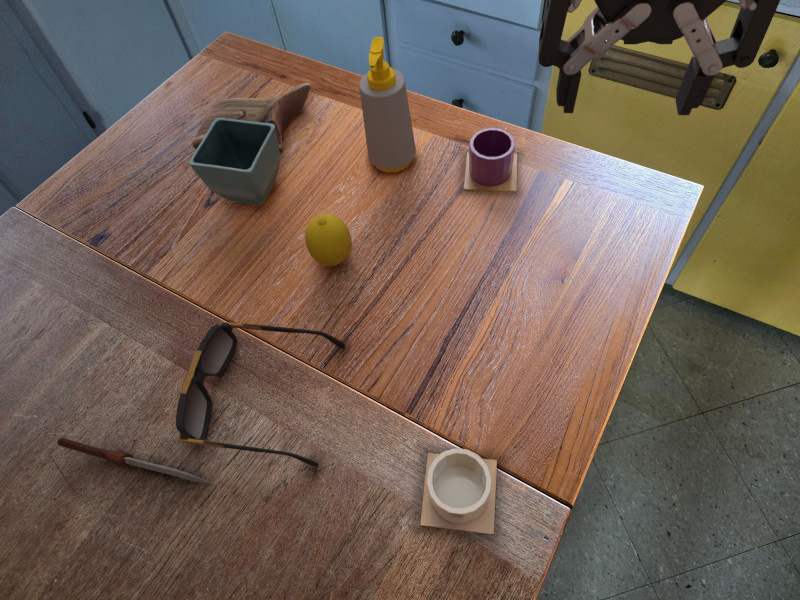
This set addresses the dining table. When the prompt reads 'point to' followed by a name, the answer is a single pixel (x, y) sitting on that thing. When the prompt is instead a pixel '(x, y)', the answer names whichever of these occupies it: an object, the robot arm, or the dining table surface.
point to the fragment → (258, 111)
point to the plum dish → (491, 156)
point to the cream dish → (459, 485)
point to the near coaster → (478, 525)
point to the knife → (126, 459)
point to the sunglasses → (213, 363)
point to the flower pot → (238, 160)
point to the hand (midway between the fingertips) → (624, 107)
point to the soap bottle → (386, 113)
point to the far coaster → (505, 187)
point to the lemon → (328, 239)
